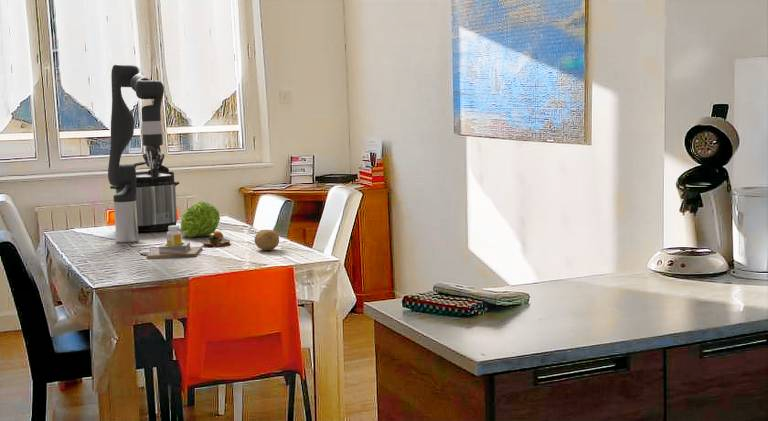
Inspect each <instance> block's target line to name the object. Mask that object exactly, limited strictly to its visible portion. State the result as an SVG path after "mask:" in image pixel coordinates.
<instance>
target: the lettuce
mask: <svg viewBox="0 0 768 421" xmlns="http://www.w3.org/2000/svg"><path fill="white" fill-rule="evenodd" d="M220 221H221V218H220V212H219V210H218V209H217V207H216V206H215V205H213V204H211V203H208V202H205V201H199V202H196V203H195V204H193V205H191V206H190V207H188V208H187V209H185V210H184V212H183V214H182V215H181V221H180V230H181V231H180V232H181V233H182V234H183V235H184V236H187V237H189V238H196V237H205V236H210V235H213V234H214V232H215V231H216V230H217V229H218V226H219V223H220Z"/></svg>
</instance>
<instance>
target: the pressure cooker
mask: <svg viewBox="0 0 768 421" xmlns="http://www.w3.org/2000/svg"><path fill="white" fill-rule="evenodd" d="M132 164H133V165H134V166H135V169H136V168H137V167H138V166H142V165H147V164H146V162H145V161H143V162H142V161H141V162H136V163H132ZM169 170H170V169H169V168H168V167H166V166H165V165H163V164H162V165H161V167H159V168H158V178H155V179H154V178H151V169H149V170H145V171H136V205H137V221H138V232H161V231H167V230H168V226H173V225H177V222H178V218H177V217H178V214H177V195H176V194H177V193H176V186H178V185H179V184H180V181H175V173H174V171H169ZM109 188H110V189H111V190H115V194H117V193H119V192H121V191H122V190H123V189H124V188H125V185H118V186H113V185H110V186H109ZM168 231H169V230H168Z"/></svg>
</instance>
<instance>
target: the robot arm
mask: <svg viewBox="0 0 768 421" xmlns="http://www.w3.org/2000/svg"><path fill="white" fill-rule="evenodd" d="M110 78H111V79H110V80H111V117H110V151H109V159H108V167H107V178H108V182H109V184H110V186H118V185H125V188H124V189H123V190H122V191H121V192H119V193H117V194H116V193H115V194H114V195H113V212H114V225H115V227H114V228H115V242H116V243H133V242H138V241H140V240H139V231H138V221H137V205H136V172H137V169H136V168H135V166H134V165H133V164H134V163H132V162H127V163H126V162H123V163H120V162H121V158H122V154H123V152H124V151H125V149H126V147H128V144H130V142H131V140H132V138H133V136H134V132H135V118H134V115H133V113H132V112H131V110H130V108H129V107H128V106H127V103H126V102H125V100H124V98H123V95H122V89H121V88H131V89H132V90H133V91H134V92H135V94H136V97H137V98H138V99H139V100H153V102H152V103H151V104H147V105H144V106H142V107H141V121H142V122H141V135H142V136H141V137H142V145H143V146H144V147H145V153H143V154H142V157H143V159H144V162H146V164H145V165H146V166H147V168H149V170H151V178H154V179H155V178H158V168H159V167H161V165H163V161H164V158H165V153H161V152H162V150H161V146H163V144H164V142H163V141H164V140H163V126H162V125H163V124H162V118H161V117H162V116H161V107H162V101H163V99H164V98H163V97H164V93H165V88H164V84H163V83H162V81H160V80H151V79H150V78H148V77H147V76H145V75H144V73H143V72H142V70H141V68H140V67H139V66H137V65H136V64H123V63H122V64H121V63H120V64H119V63H117V64H115V63H114V64H113V65H112V68H111V76H110Z"/></svg>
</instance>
